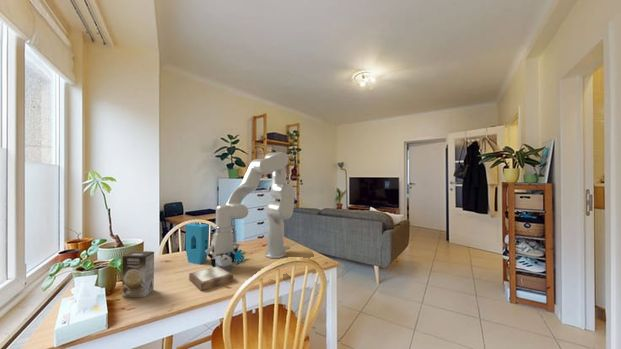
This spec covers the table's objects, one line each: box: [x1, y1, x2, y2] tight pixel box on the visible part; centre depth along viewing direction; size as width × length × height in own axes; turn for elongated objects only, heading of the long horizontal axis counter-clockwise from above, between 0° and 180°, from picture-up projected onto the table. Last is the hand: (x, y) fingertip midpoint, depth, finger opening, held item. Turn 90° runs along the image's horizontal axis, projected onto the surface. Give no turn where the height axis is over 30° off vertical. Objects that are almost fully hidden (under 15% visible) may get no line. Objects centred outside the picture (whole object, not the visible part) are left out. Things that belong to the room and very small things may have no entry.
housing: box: [215, 253, 233, 272], centre depth 127 cm, size 5×8×6 cm, turn 44°
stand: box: [188, 266, 234, 292], centre depth 114 cm, size 14×14×3 cm
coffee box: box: [121, 250, 155, 298], centre depth 102 cm, size 9×6×16 cm
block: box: [185, 222, 210, 265], centre depth 137 cm, size 12×5×20 cm, turn 69°
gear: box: [226, 246, 246, 264], centre depth 139 cm, size 11×6×10 cm
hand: (222, 264), depth 127 cm, fingers open, 9 cm apart
